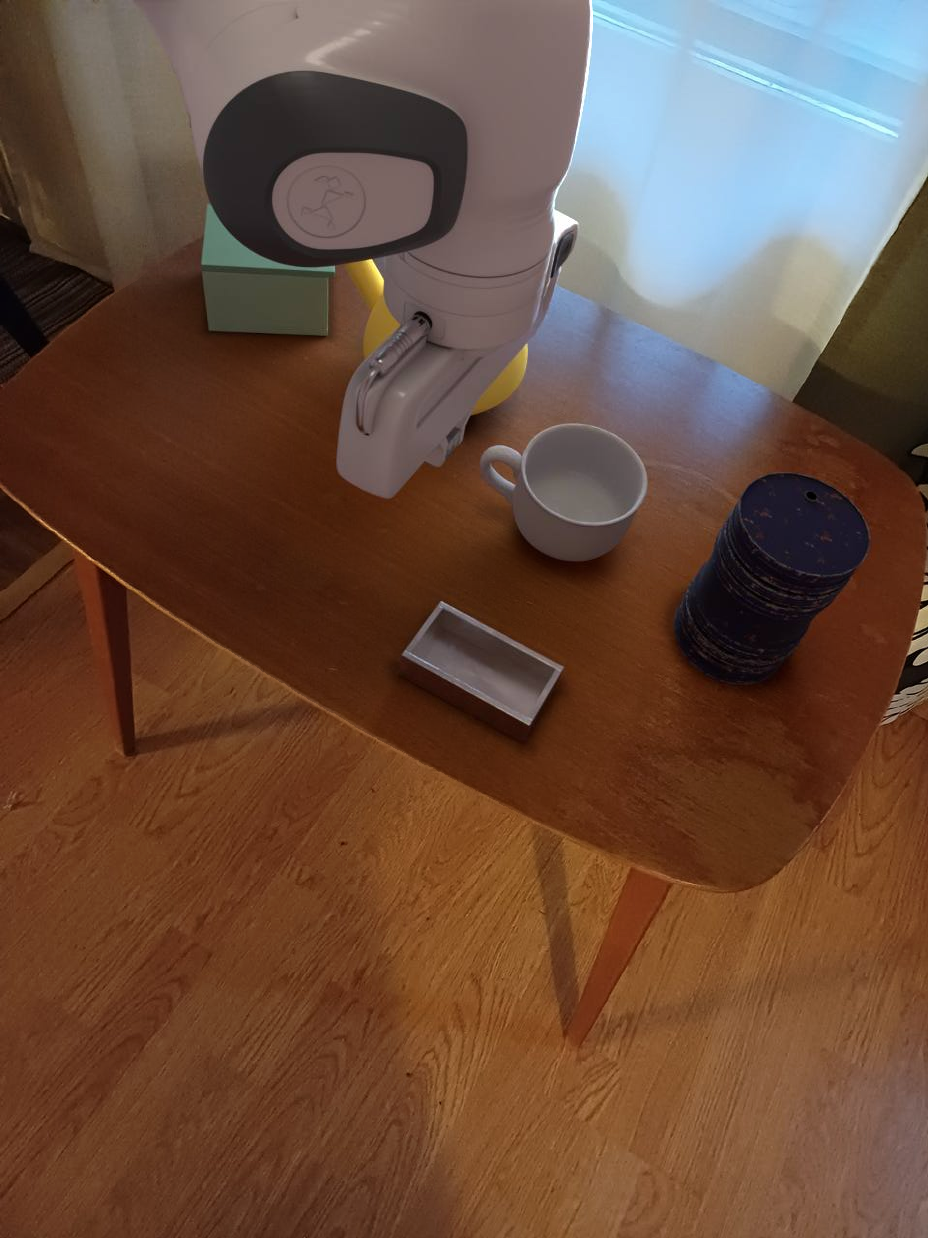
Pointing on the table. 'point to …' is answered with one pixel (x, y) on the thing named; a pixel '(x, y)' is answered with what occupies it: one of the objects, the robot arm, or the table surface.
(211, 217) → the lunchbox lid
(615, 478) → the teacup
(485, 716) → the open storage tray
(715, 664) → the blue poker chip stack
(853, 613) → the table surface
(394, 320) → the teapot
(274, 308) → the lunchbox
